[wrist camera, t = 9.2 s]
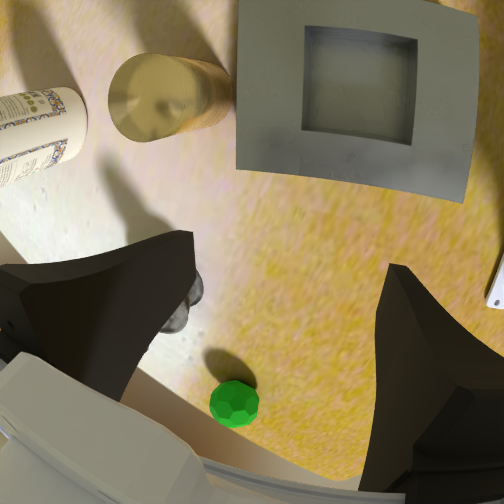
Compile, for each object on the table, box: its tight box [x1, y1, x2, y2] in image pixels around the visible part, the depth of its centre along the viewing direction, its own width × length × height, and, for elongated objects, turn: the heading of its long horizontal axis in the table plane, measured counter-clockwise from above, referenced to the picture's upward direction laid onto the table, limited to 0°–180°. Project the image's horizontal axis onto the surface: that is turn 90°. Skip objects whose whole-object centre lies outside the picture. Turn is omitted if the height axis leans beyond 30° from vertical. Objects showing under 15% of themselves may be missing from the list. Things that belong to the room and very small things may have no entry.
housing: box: [236, 0, 479, 204], centre depth 14 cm, size 12×10×4 cm
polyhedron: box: [209, 380, 259, 428], centre depth 29 cm, size 5×5×5 cm
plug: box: [108, 53, 234, 142], centre depth 16 cm, size 5×5×6 cm
